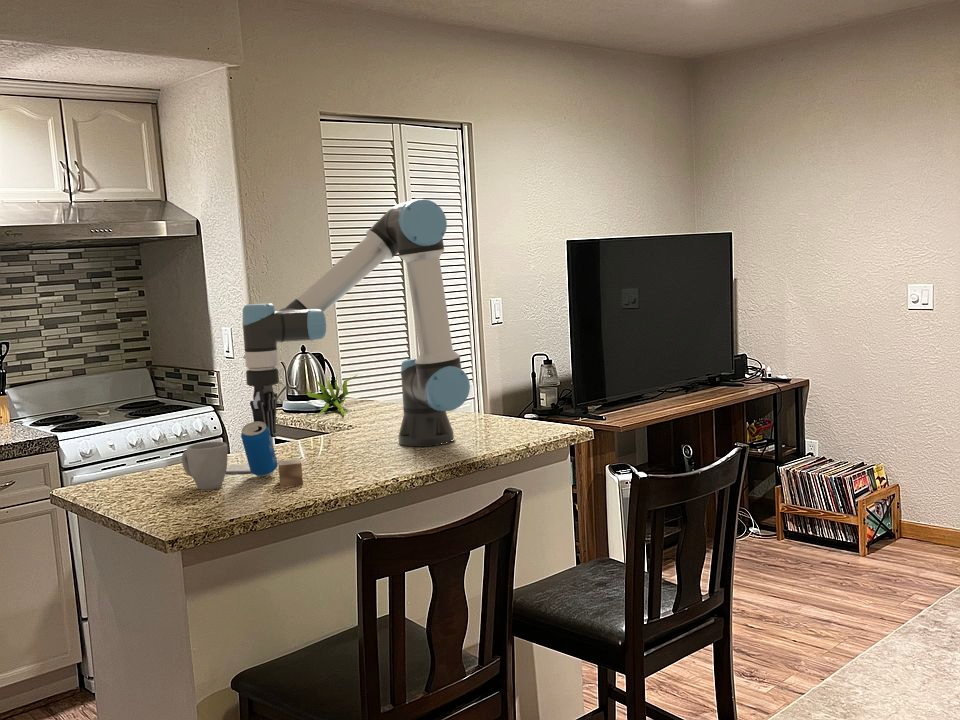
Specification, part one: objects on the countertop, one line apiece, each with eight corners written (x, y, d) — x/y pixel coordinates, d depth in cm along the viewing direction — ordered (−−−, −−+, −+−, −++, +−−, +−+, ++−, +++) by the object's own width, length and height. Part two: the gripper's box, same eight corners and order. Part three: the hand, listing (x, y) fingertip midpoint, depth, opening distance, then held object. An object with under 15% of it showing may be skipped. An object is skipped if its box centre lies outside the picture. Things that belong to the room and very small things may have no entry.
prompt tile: (267, 465, 231) (267, 462, 230) (255, 473, 221) (255, 470, 221) (232, 466, 231) (232, 463, 231) (218, 474, 222) (218, 471, 222)
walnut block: (301, 480, 212) (300, 459, 211) (303, 484, 207) (301, 463, 207) (279, 482, 211) (278, 461, 210) (280, 487, 206) (278, 465, 205)
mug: (238, 483, 211) (235, 442, 210) (210, 492, 203) (207, 450, 202) (198, 480, 217) (195, 440, 216) (170, 489, 209) (167, 447, 208)
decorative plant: (294, 422, 300) (290, 377, 298) (328, 407, 328) (325, 366, 327) (345, 421, 296) (342, 375, 294) (376, 406, 324) (373, 365, 323)
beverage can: (272, 478, 215) (262, 436, 209) (246, 477, 216) (235, 435, 210) (282, 461, 221) (271, 420, 215) (256, 461, 222) (246, 420, 216)
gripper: (256, 365, 226) (262, 459, 229) (236, 372, 214) (243, 471, 216) (285, 364, 226) (291, 459, 228) (268, 371, 213) (274, 471, 215)
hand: (268, 465), depth 222 cm, fingers closed
